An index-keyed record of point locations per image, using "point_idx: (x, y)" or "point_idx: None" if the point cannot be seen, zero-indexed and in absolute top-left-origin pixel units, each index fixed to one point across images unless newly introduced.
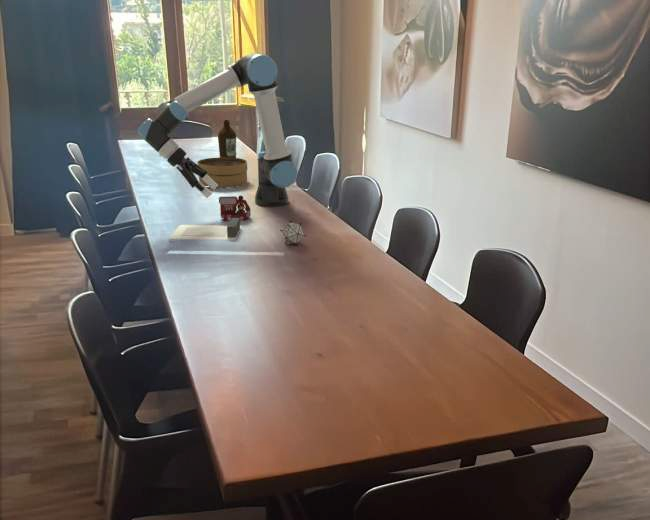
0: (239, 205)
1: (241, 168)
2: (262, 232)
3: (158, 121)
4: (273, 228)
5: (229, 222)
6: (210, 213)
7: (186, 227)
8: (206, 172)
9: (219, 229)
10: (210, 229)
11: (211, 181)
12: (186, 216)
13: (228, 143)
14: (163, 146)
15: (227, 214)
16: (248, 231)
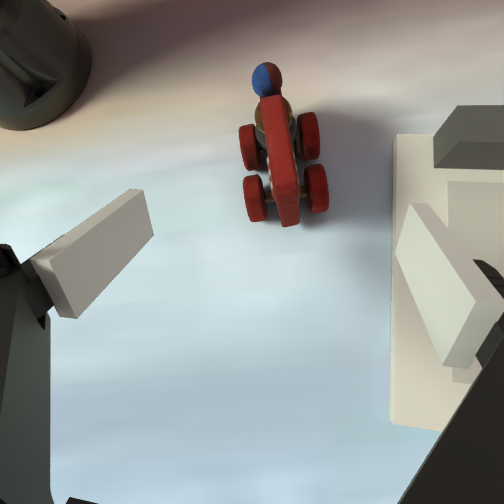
0: (286, 112)
1: None
2: (449, 61)
3: None
4: (390, 32)
5: None
6: (158, 290)
7: (445, 384)
8: (4, 257)
9: (471, 218)
10: (476, 259)
11: (113, 228)
12: (196, 401)
13: None
14: None
15: (327, 184)
16: (439, 111)
